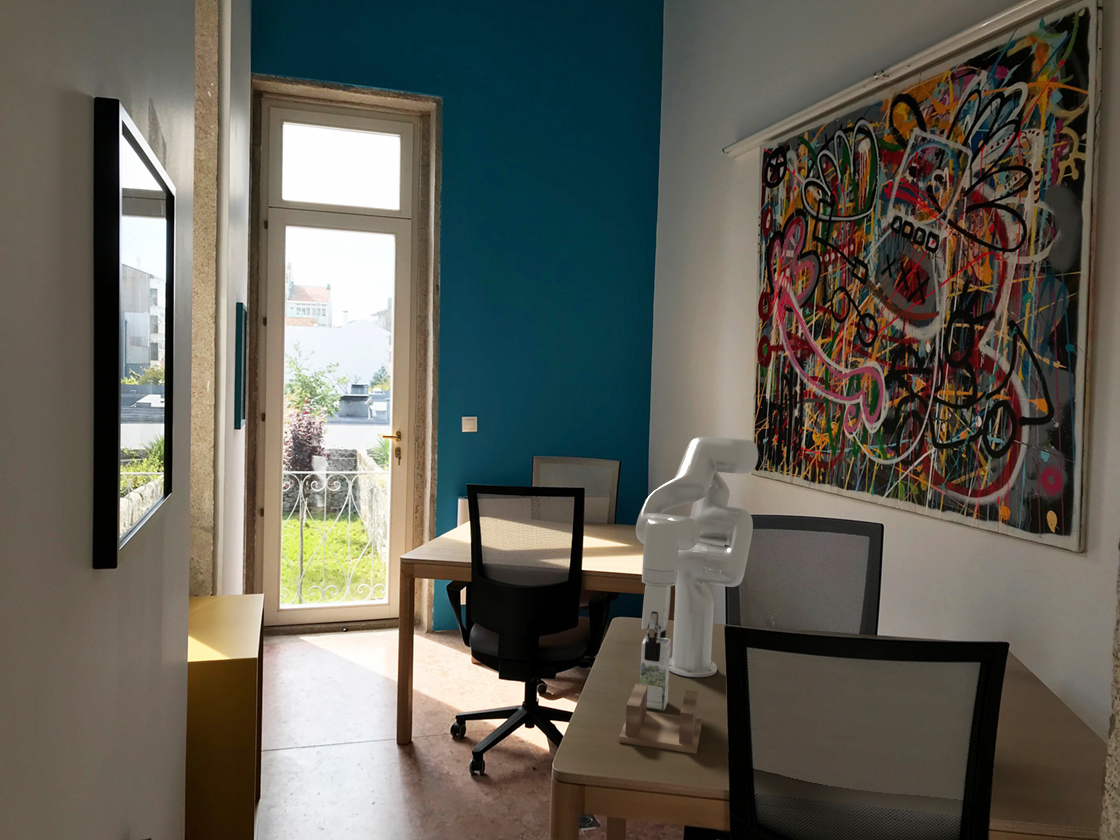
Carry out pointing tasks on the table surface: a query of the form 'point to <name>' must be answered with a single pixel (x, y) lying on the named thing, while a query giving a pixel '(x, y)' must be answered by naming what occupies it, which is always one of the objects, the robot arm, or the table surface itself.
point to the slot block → (661, 724)
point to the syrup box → (656, 676)
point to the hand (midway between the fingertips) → (654, 654)
